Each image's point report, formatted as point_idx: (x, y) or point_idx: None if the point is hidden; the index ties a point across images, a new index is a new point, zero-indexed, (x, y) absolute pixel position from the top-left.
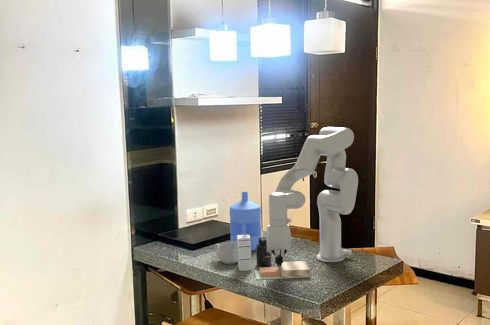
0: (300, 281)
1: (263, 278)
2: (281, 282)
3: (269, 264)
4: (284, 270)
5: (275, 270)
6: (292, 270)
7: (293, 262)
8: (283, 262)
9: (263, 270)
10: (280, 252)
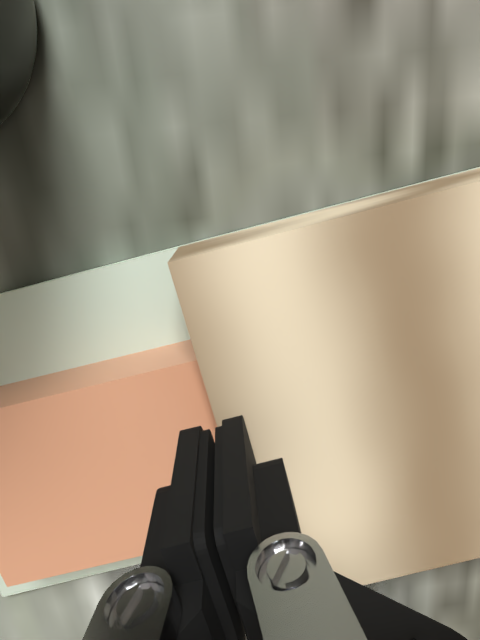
0: (459, 569)
1: (73, 573)
2: None
3: (15, 98)
4: None
5: None
6: (419, 566)
7: (453, 247)
8: (277, 264)
9: (21, 526)
10: (269, 628)
